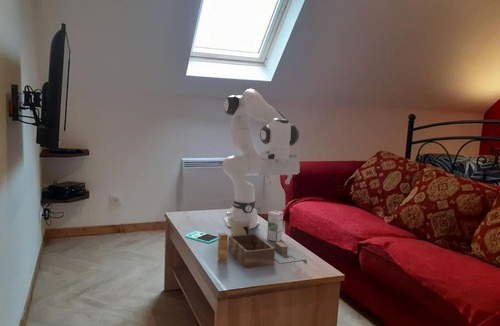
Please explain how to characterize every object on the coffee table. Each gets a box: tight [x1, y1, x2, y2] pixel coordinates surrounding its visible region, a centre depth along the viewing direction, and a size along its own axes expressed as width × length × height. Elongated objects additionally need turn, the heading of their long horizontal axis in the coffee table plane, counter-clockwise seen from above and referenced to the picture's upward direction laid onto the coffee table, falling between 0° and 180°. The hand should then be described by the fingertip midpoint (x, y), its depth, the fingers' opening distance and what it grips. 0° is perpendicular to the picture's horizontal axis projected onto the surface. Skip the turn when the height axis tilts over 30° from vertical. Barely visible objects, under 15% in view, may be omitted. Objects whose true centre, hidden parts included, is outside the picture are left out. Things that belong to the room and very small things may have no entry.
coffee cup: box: [230, 216, 250, 236], centre depth 199 cm, size 9×9×12 cm
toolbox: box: [227, 233, 275, 269], centre depth 178 cm, size 20×13×8 cm, turn 24°
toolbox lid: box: [271, 241, 308, 265], centre depth 184 cm, size 20×13×5 cm, turn 24°
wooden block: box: [217, 232, 229, 264], centre depth 172 cm, size 3×3×13 cm
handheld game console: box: [185, 230, 218, 245], centre depth 204 cm, size 10×16×1 cm, turn 58°
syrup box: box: [266, 209, 284, 243], centre depth 204 cm, size 6×6×14 cm
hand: (278, 184), depth 187 cm, fingers open, 8 cm apart
